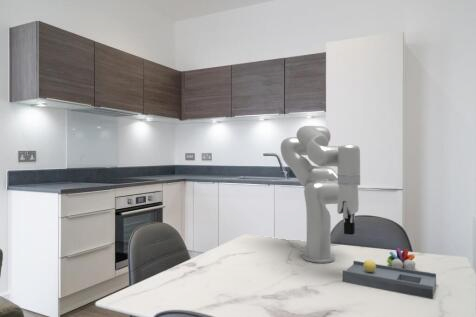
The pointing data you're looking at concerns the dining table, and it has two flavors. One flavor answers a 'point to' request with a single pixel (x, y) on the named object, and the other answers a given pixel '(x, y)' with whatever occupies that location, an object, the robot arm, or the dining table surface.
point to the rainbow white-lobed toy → (401, 259)
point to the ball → (369, 266)
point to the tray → (392, 279)
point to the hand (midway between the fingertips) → (349, 233)
